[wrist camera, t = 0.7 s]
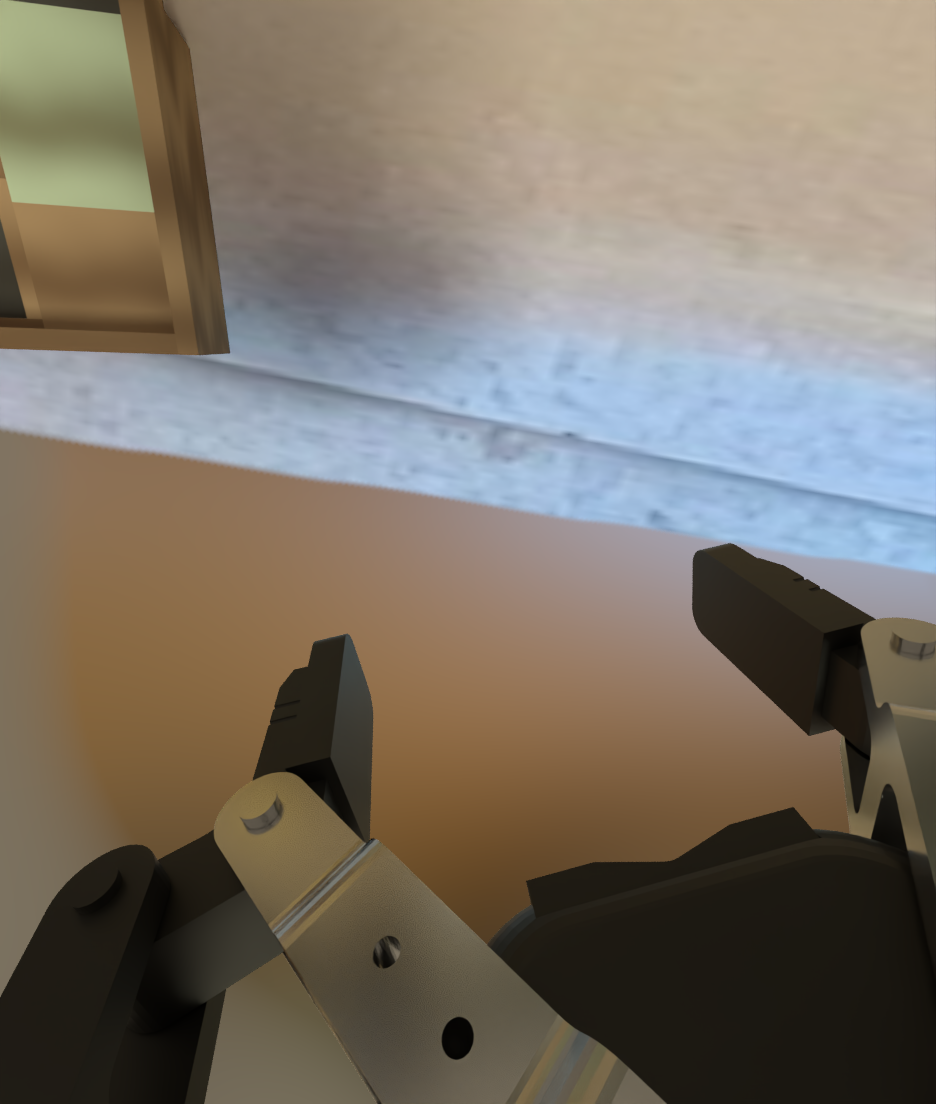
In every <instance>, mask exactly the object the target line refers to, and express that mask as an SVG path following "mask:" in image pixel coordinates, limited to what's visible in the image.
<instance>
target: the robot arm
mask: <svg viewBox="0 0 936 1104" xmlns="http://www.w3.org/2000/svg"><path fill="white" fill-rule="evenodd" d="M692 601H693V602H692V610H693V616H694V620H695V622H696V625H697V627H698V629H699V630H700V632H701V633H702V634H703V635H704V636H705V637H706V638H707V639H708V640H709V641H710V642H711V643H712V644H713V645H714V646H715V647H716V648H717V649H718V650H719V651H720V652H721V653H722V654H724V655H725V656H726V657H727V658H728V659H729V660H730V661H731V662H732V663H733V664H734V665H735V666H736V667H737V668H738V669H739V670H740V671H741V672H742V673H743V674H744V675H746V676H747V677H748V678H749V679H750V680H751V681H752V682H753V683H754V684H755V685H756V686H757V687H758V688H759V689H760V690H761V691H762V692H763V693H764V694H766V696H768V697H769V698H770V699H771V700H772V701H773V702H774V703H775V704H776V705H777V706H778V707H779V708H780V709H781V710H782V711H783V712H784V713H786V715H787V716H789V717H790V718H791V719H792V720H793V721H794V722H795V723H796V724H797V725H798V726H799V727H800V728H801V729H802V730H803V731H804V732H805V733H807V735H808V736H811V735H814V734H819V733H822V732H826V731H830V730H833V729H836V730H837V731H839V733H841V734H842V738H841V744H840V754H841V763H842V771H843V778H844V787H845V794H846V803H847V811H848V819H849V827H850V834H849V833H843V832H838V831H830V830H820V829H812V828H811V827H810V826H809V825H808V824H807V822H806V821H805V820H804V819H803V818H802V817H801V816H800V814H799V813H798V812H797V811H796V810H795V808H793V807H792V808H788V809H785V810H781V811H777V812H774V813H770V814H767V815H763V816H759V817H756V818H752V819H749V820H745V821H741V822H738V823H734V824H731V825H729V826H727V827H725V828H724V829H722V830H721V831H719V832H717V833H716V834H714V835H713V836H711V837H710V838H708V839H707V840H705V841H703V842H702V843H700V844H699V845H698V846H696V847H694V848H693V849H691V850H690V851H688V852H686V853H685V854H683V855H682V856H680V857H679V858H677V859H675V860H672V861H667V862H593V863H590V864H586V865H582V866H579V867H575V868H571V869H568V870H564V871H561V872H557V873H553V874H550V875H546V876H542V877H539V878H535V879H532V880H528V881H526V882H527V887H528V892H529V896H530V900H531V905H530V906H529V907H527V908H526V909H524V910H522V911H521V912H519V913H518V914H517V915H515V916H514V917H513V918H512V919H511V920H510V921H508V922H507V923H506V924H505V925H504V926H503V927H502V928H501V929H500V930H499V931H498V932H497V933H496V934H495V935H494V937H493V938H492V939H491V940H490V941H489V943H488V944H487V945H486V944H485V943H484V942H483V941H482V940H481V939H480V938H479V937H478V936H477V935H476V934H475V933H474V932H473V931H472V930H471V929H470V928H469V927H468V926H467V925H466V924H465V923H464V922H463V921H462V920H461V919H459V917H458V916H457V915H456V914H454V913H453V912H452V911H451V910H450V909H449V908H448V907H447V906H446V905H445V904H444V903H443V902H442V901H441V900H440V899H439V898H438V897H437V896H436V895H435V894H434V893H433V892H432V891H431V890H430V889H429V888H428V887H427V886H426V885H425V884H424V883H423V882H422V881H421V880H419V878H418V877H416V876H415V875H414V874H413V873H412V872H411V871H410V870H409V869H408V868H407V867H406V866H405V865H404V864H403V863H402V862H401V861H400V860H399V859H398V858H397V857H396V856H395V855H394V854H393V853H392V852H391V851H390V850H389V849H387V847H385V846H384V845H383V844H382V843H381V842H379V841H378V840H376V839H371V840H369V839H370V808H371V773H372V740H373V707H372V701H371V696H370V692H369V689H368V685H367V682H366V679H365V676H364V673H363V670H362V667H361V664H360V661H359V659H358V656H357V653H356V650H355V647H354V644H353V641H352V639H351V637H350V635H348V634H344V635H340V636H336V637H332V638H327V639H323V640H319V641H315V642H314V644H313V646H312V651H311V655H310V660H309V664H308V667H304V668H300V669H295V670H293V672H292V673H291V674H290V676H289V677H288V678H287V679H286V681H285V682H284V683H283V684H282V686H281V687H280V689H279V692H278V696H277V699H276V702H275V709H274V710H273V712H272V716H271V720H270V725H269V726H268V730H267V733H266V736H265V740H264V743H263V747H262V750H261V753H260V757H259V760H258V764H257V767H256V770H255V774H254V777H253V781H252V782H250V783H248V784H247V785H245V786H244V787H243V788H241V789H240V790H239V791H238V792H237V793H235V794H234V795H233V796H232V797H231V798H230V799H229V800H228V802H227V803H226V804H225V805H224V807H223V808H222V810H221V812H220V813H219V815H218V817H217V820H216V823H215V827H214V830H212V831H211V832H209V833H208V834H206V835H204V836H202V837H201V838H199V839H197V840H195V841H193V842H191V843H189V844H187V845H186V846H184V847H182V848H180V849H178V850H176V851H174V852H172V853H170V854H168V855H166V856H165V857H163V858H161V859H159V860H157V858H156V857H155V855H154V854H153V852H152V851H151V850H150V849H148V848H147V847H145V846H143V845H127V846H123V847H120V848H117V849H114V850H112V851H110V852H108V853H106V854H104V855H102V856H100V857H98V858H97V859H95V860H94V861H92V862H91V863H89V864H88V865H87V866H85V867H84V868H83V869H81V870H80V871H79V872H78V873H77V874H75V875H74V876H73V877H72V878H71V879H70V880H69V881H68V882H67V883H66V884H65V885H64V887H63V888H62V889H61V890H60V891H59V892H58V894H57V895H56V896H55V898H54V899H53V900H52V902H51V904H50V905H49V907H48V909H47V910H46V912H45V915H44V916H43V918H42V920H41V922H40V923H39V925H38V927H37V929H36V931H35V933H34V935H33V937H32V939H31V940H30V942H29V944H28V946H27V948H26V950H25V952H24V954H23V956H22V957H21V959H20V961H19V963H18V965H17V967H16V969H15V970H14V972H13V974H12V976H11V978H10V980H9V982H8V984H7V986H6V988H5V989H4V991H3V993H2V995H1V997H0V1104H204V1102H205V1096H206V1091H207V1085H208V1081H209V1076H210V1070H211V1065H212V1060H213V1055H214V1050H215V1044H216V1039H217V1034H218V1028H219V1024H220V1018H221V1013H222V1008H223V1002H224V997H225V992H226V988H228V987H230V986H231V985H233V984H234V983H236V982H237V981H239V980H240V979H242V978H244V977H245V976H247V975H248V974H250V973H251V972H253V971H254V970H256V969H258V968H259V967H261V966H262V965H264V964H265V963H267V962H268V961H270V960H272V959H273V958H275V957H276V956H278V955H279V954H281V953H283V954H284V956H285V958H286V959H287V961H288V962H289V964H290V965H291V967H292V969H293V970H294V972H295V973H296V975H297V977H298V978H299V980H300V981H301V983H302V985H303V986H304V988H305V989H306V991H307V993H308V994H309V995H310V997H311V999H312V1000H313V1002H314V1004H315V1005H316V1007H317V1008H318V1010H319V1011H320V1013H321V1015H322V1016H323V1018H324V1019H325V1021H326V1023H327V1024H328V1026H329V1027H330V1029H331V1031H332V1032H333V1034H334V1035H335V1037H336V1039H337V1040H338V1042H339V1043H340V1045H341V1046H342V1048H343V1050H344V1051H345V1053H346V1055H347V1056H348V1058H349V1059H350V1061H351V1063H352V1064H353V1066H354V1067H355V1069H356V1071H357V1072H358V1074H359V1075H360V1077H361V1079H362V1081H363V1082H364V1084H365V1085H366V1087H367V1088H368V1090H369V1092H370V1093H371V1095H372V1097H373V1098H374V1100H375V1101H376V1103H377V1104H936V625H935V624H931V623H928V622H924V621H920V620H915V619H908V618H882V619H877V620H876V619H874V618H873V617H871V616H869V615H868V614H866V613H864V612H862V611H861V610H859V609H857V608H856V607H854V606H852V605H851V604H849V603H847V602H845V601H844V600H842V599H840V598H839V597H837V596H835V595H833V594H831V593H830V592H828V591H826V590H825V589H820V587H819V586H818V585H816V584H815V583H813V582H811V581H810V580H808V579H806V580H804V577H802V576H801V575H799V574H798V573H796V572H794V571H792V570H791V569H789V568H787V567H786V566H784V565H780V564H777V563H773V562H770V561H767V560H764V559H760V558H756V557H754V556H753V555H751V554H749V553H748V552H746V551H744V550H743V549H741V548H740V547H738V546H736V545H734V544H731V543H728V544H724V545H720V546H716V547H712V548H708V549H703V550H699V551H697V552H696V553H695V555H694V558H693V595H692Z"/></svg>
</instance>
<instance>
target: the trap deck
mask: <svg viewBox="0 0 936 1104" xmlns="http://www.w3.org/2000/svg"><path fill="white" fill-rule="evenodd" d="M1 317H4V318H1ZM25 318H27V319H25ZM0 349H29V350H59V351H89V352H120V353H150V354H180V355H209V354H225V353H230V350H229V342H228V335H227V327H226V320H225V312H224V305H223V297H222V290H221V282H220V275H219V267H218V260H217V252H216V245H215V237H214V230H213V222H212V215H211V207H210V200H209V192H208V185H207V177H206V170H205V162H204V155H203V147H202V140H201V132H200V125H199V117H198V110H197V102H196V95H195V87H194V80H193V72H192V65H191V57H190V50H189V48H188V46H187V44H186V43H185V41H184V40H183V38H182V37H181V35H180V34H179V32H178V31H177V29H176V28H175V26H174V25H173V23H172V22H171V20H170V19H169V17H168V16H167V14H166V13H165V11H164V9H163V2H162V0H0Z"/></svg>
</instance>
